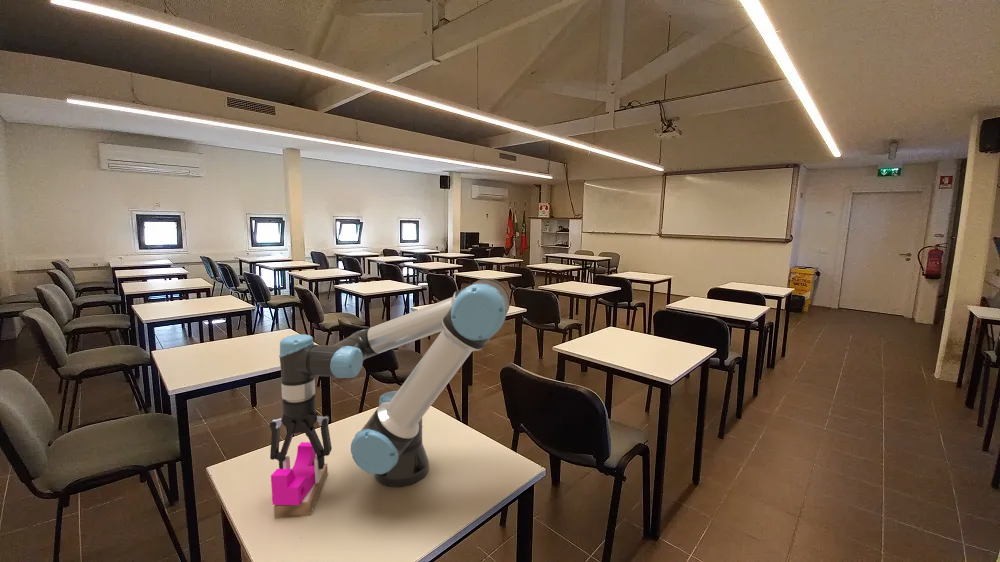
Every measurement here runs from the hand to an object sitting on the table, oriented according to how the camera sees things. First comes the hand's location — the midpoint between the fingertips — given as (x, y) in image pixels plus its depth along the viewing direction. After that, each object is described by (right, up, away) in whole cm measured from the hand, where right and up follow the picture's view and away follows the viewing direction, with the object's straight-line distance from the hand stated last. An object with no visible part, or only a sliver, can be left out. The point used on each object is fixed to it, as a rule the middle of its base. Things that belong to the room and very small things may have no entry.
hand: (302, 481), depth 106 cm
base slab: (0, -4, 0) cm, 4 cm away
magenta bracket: (0, -1, -1) cm, 1 cm away
